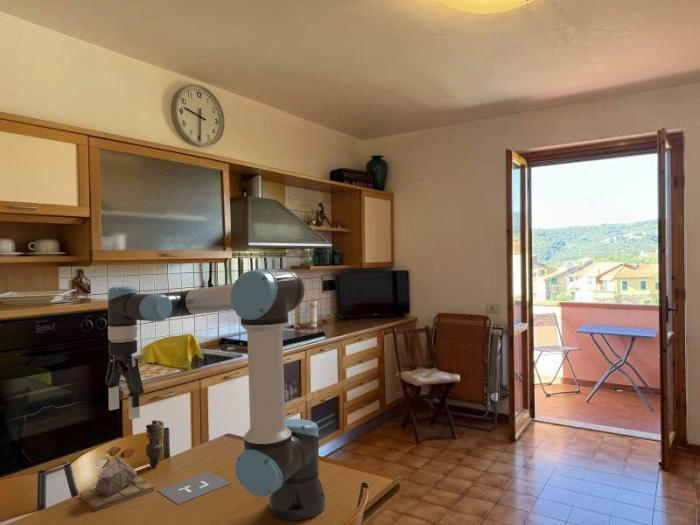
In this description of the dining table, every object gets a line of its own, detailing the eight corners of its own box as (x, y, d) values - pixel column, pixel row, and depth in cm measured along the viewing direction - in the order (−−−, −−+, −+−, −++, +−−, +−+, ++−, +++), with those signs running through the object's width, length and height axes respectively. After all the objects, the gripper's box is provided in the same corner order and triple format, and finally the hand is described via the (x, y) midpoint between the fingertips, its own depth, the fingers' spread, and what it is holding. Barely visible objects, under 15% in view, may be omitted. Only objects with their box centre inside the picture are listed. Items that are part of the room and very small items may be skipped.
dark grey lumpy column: (157, 461, 164) (156, 417, 164) (168, 465, 161) (167, 419, 161) (142, 468, 159) (142, 421, 159) (153, 471, 156) (153, 424, 156)
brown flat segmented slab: (154, 490, 143) (154, 485, 143) (96, 511, 132) (96, 505, 132) (136, 478, 152) (136, 473, 152) (80, 496, 140) (80, 491, 140)
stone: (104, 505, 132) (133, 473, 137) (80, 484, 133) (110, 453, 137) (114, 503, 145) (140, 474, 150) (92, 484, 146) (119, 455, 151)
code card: (230, 483, 147) (230, 483, 147) (177, 504, 135) (177, 504, 135) (209, 472, 156) (209, 471, 156) (157, 490, 143) (157, 490, 143)
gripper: (155, 342, 136) (156, 419, 136) (117, 334, 153) (118, 403, 153) (128, 346, 131) (129, 426, 131) (92, 337, 148) (93, 408, 148)
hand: (123, 413), depth 142 cm, fingers open, 13 cm apart
